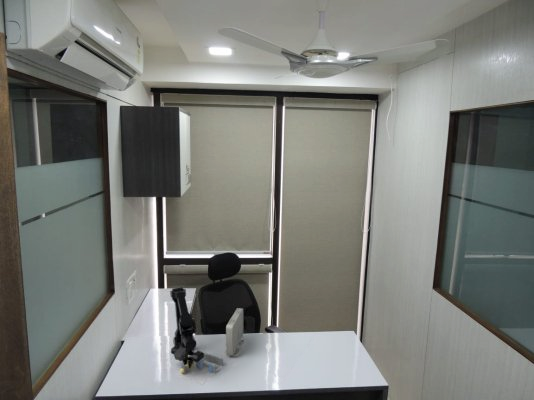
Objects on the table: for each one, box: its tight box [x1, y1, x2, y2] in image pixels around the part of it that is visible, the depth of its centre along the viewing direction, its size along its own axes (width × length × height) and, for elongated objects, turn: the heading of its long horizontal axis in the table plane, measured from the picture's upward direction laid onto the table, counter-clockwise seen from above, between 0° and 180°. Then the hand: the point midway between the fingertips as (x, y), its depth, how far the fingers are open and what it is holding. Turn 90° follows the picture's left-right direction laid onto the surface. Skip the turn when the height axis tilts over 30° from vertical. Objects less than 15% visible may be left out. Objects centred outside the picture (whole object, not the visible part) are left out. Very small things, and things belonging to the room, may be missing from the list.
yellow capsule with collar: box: [179, 361, 195, 373], centre depth 188 cm, size 11×3×2 cm, turn 153°
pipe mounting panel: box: [174, 349, 224, 386], centre depth 188 cm, size 19×18×5 cm
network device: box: [224, 307, 246, 357], centre depth 210 cm, size 26×9×20 cm, turn 170°
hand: (187, 367), depth 188 cm, fingers closed on yellow capsule with collar, 2 cm apart
